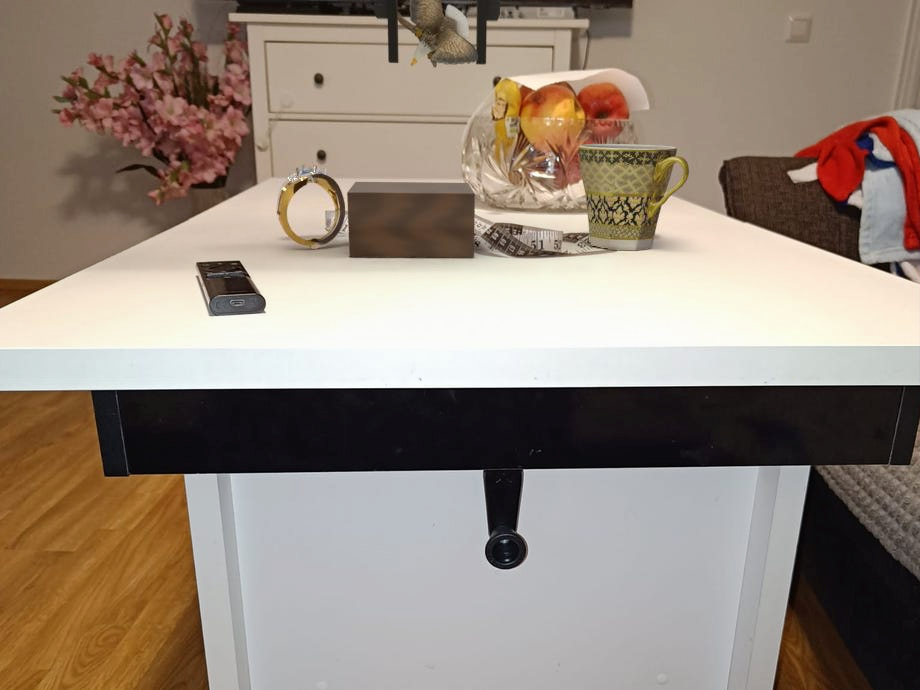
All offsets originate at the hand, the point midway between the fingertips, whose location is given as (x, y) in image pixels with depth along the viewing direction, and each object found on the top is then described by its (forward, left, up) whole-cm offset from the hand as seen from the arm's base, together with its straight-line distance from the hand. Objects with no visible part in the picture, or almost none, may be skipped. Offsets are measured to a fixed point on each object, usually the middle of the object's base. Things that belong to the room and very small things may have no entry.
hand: (437, 62), depth 80 cm
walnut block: (-2, +9, -17) cm, 20 cm away
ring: (-12, +9, -17) cm, 23 cm away
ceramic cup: (+21, +11, -17) cm, 29 cm away
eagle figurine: (0, 0, -1) cm, 1 cm away
